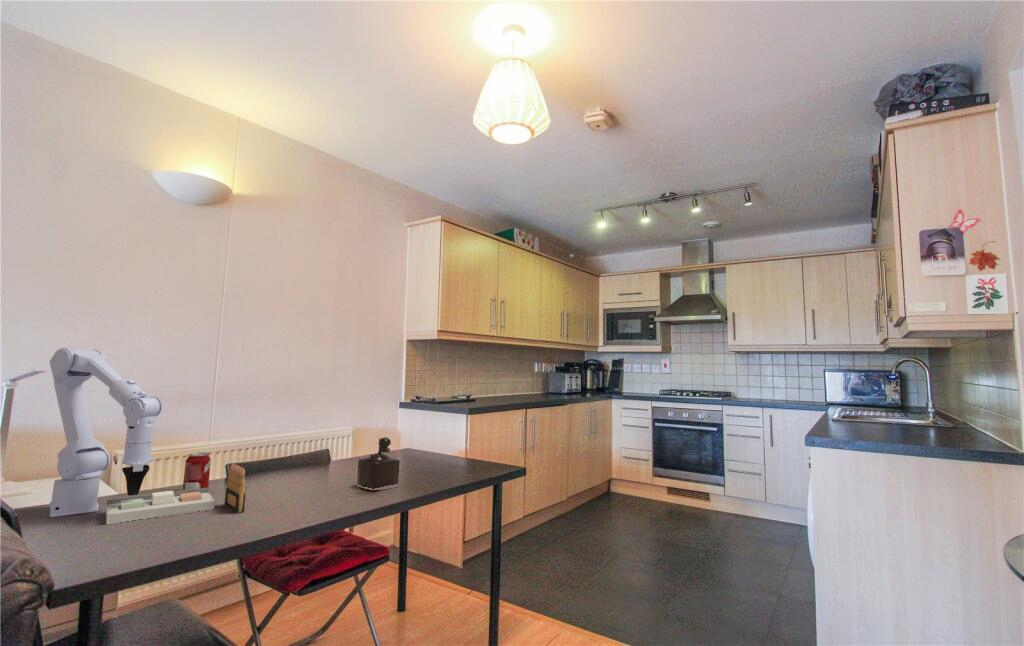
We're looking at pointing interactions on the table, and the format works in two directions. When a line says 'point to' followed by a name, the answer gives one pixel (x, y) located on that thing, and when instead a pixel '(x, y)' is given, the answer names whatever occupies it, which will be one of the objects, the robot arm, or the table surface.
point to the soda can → (197, 471)
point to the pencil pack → (235, 489)
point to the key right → (190, 496)
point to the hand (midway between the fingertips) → (132, 494)
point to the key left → (131, 503)
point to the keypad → (157, 507)
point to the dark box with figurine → (378, 468)
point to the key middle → (162, 498)
